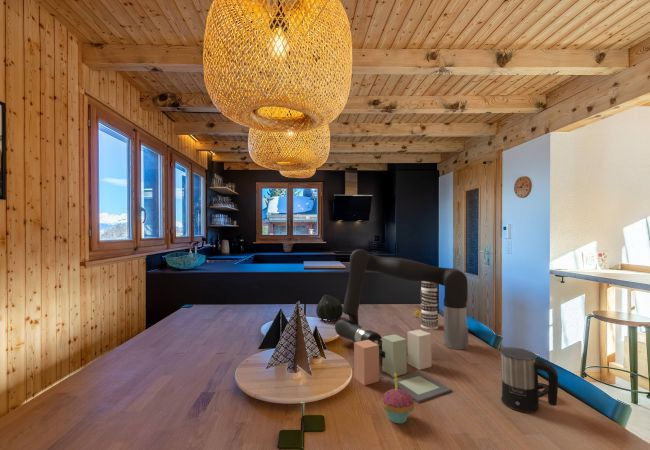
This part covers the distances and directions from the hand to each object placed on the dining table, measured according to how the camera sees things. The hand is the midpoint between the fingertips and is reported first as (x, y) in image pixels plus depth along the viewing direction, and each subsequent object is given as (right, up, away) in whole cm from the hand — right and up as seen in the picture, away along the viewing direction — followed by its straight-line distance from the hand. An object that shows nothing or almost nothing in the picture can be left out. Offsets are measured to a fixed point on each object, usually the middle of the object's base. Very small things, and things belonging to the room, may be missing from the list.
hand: (394, 353), depth 111 cm
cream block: (+11, -7, +5) cm, 14 cm away
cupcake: (-5, -6, -28) cm, 29 cm away
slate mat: (+6, -6, -11) cm, 14 cm away
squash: (-22, -8, +65) cm, 69 cm away
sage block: (0, -7, 0) cm, 7 cm away
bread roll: (+32, -8, +71) cm, 78 cm away
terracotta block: (-11, -7, -6) cm, 14 cm away
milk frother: (+35, -6, -19) cm, 40 cm away
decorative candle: (+30, -8, +51) cm, 60 cm away
